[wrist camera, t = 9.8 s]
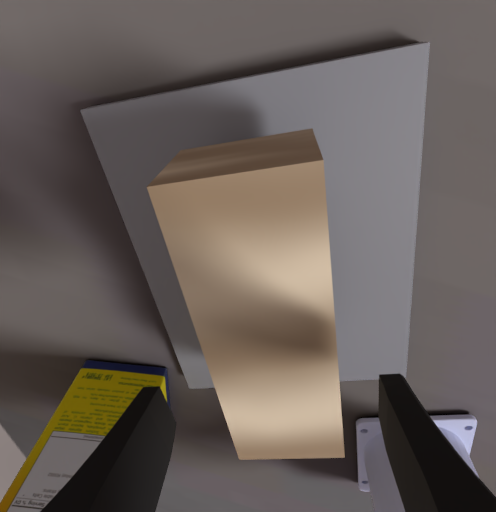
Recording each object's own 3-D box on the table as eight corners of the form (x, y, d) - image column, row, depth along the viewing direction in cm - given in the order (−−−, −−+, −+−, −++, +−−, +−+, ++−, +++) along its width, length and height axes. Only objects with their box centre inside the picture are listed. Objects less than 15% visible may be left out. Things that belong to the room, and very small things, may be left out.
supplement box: (99, 409, 28) (7, 594, 19) (85, 357, 25) (-33, 547, 15) (173, 418, 28) (118, 610, 18) (169, 366, 24) (100, 565, 15)
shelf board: (333, 385, 20) (345, 457, 16) (246, 390, 21) (239, 459, 17) (312, 128, 13) (323, 159, 9) (180, 150, 14) (146, 187, 10)
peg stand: (401, 365, 23) (416, 406, 20) (192, 377, 25) (182, 415, 22) (420, 42, 14) (452, 42, 11) (90, 106, 16) (54, 118, 13)
